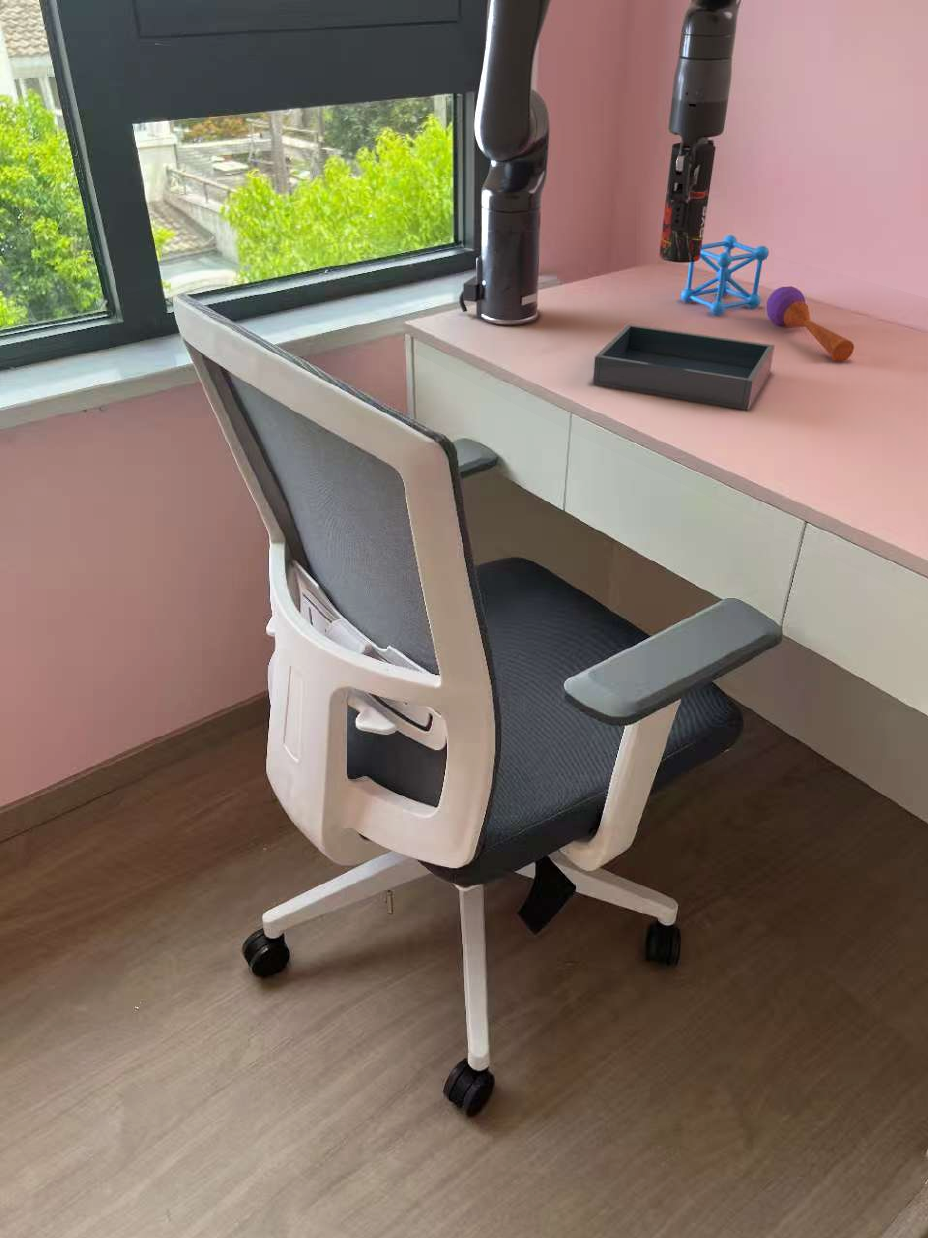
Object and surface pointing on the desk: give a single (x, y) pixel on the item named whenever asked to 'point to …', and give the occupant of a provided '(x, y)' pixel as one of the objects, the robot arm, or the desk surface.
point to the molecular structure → (726, 276)
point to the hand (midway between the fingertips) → (683, 224)
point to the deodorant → (689, 212)
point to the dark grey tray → (684, 366)
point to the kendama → (805, 321)
